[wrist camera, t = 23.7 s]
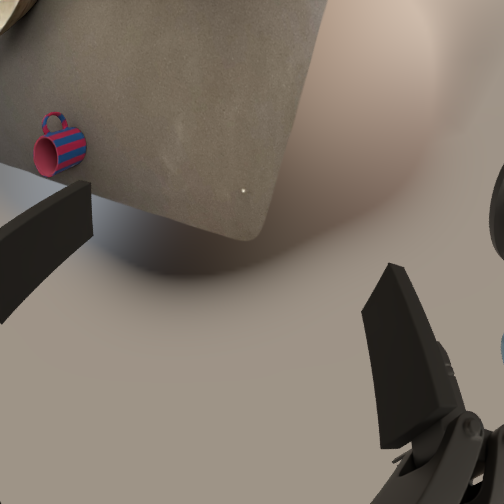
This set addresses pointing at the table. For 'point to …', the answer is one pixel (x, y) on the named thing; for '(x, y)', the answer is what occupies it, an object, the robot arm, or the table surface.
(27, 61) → the table surface
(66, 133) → the cup
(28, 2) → the bowl
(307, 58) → the table surface
